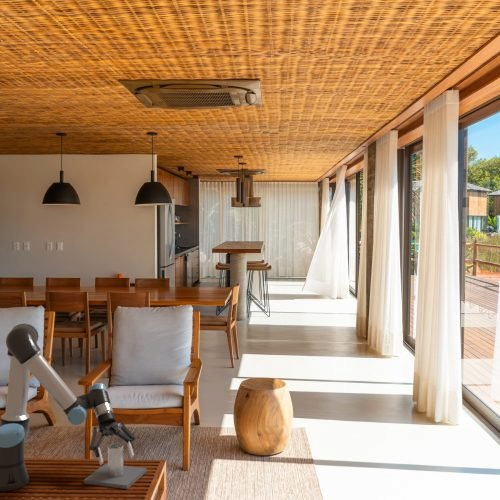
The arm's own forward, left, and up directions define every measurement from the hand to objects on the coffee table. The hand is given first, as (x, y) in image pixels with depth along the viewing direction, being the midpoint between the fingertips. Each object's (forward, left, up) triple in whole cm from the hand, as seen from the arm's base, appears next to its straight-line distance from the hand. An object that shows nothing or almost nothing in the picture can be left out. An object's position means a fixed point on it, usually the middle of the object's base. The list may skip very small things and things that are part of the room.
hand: (117, 460), depth 240 cm
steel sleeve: (-1, +1, -6) cm, 7 cm away
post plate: (-1, +1, -8) cm, 8 cm away
